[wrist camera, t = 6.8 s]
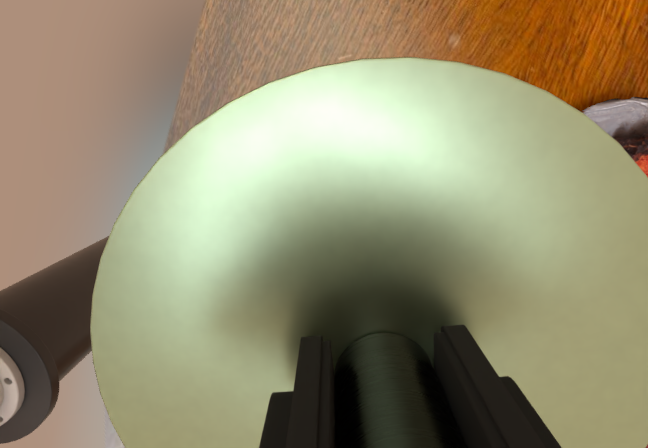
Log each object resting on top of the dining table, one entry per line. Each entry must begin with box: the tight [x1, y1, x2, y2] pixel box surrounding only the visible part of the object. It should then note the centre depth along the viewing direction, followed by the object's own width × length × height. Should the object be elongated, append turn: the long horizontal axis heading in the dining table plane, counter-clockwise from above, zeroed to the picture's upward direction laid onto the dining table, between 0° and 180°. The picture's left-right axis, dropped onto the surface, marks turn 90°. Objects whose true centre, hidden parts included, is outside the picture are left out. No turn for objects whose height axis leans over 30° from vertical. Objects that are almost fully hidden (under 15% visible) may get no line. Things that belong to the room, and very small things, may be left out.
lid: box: [90, 57, 648, 448], centre depth 8 cm, size 16×16×6 cm
